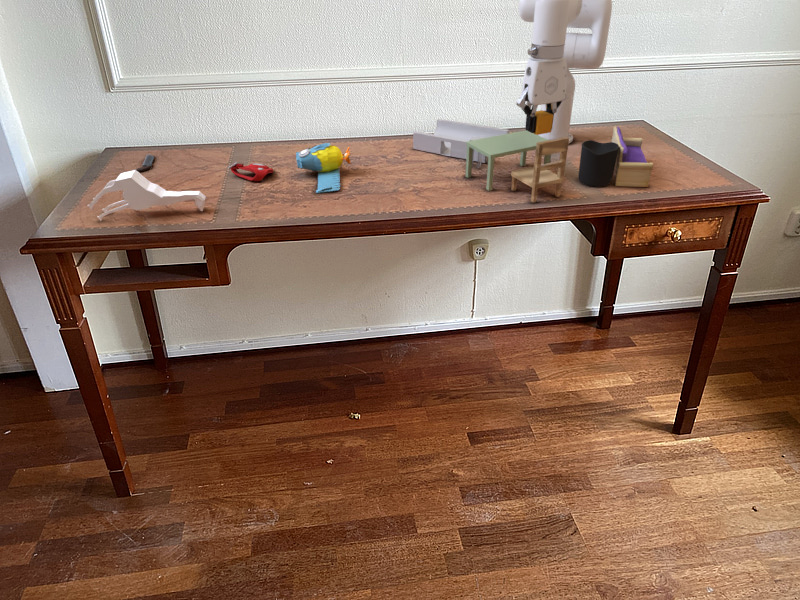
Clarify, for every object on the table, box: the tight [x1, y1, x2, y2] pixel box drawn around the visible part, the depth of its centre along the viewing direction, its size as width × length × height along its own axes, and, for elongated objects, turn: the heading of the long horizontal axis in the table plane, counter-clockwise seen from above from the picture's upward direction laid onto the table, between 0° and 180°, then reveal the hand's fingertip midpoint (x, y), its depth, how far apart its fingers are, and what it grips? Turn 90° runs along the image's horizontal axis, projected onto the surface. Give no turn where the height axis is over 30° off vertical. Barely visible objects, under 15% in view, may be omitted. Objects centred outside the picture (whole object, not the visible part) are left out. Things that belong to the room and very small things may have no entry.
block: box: [533, 109, 553, 135], centre depth 149 cm, size 4×4×4 cm
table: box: [465, 129, 552, 192], centre depth 165 cm, size 12×20×10 cm, turn 117°
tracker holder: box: [228, 161, 274, 182], centre depth 170 cm, size 12×4×10 cm
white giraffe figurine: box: [87, 169, 207, 222], centre depth 149 cm, size 5×16×25 cm
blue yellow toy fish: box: [295, 142, 352, 194], centre depth 170 cm, size 28×9×15 cm
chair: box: [510, 137, 570, 204], centre depth 154 cm, size 10×9×15 cm
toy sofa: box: [610, 126, 654, 188], centre depth 166 cm, size 21×9×10 cm, turn 169°
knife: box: [135, 153, 155, 173], centre depth 181 cm, size 14×4×1 cm, turn 11°
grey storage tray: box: [412, 118, 510, 169], centre depth 184 cm, size 25×21×8 cm
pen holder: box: [577, 139, 619, 188], centre depth 161 cm, size 9×9×10 cm
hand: (538, 129), depth 150 cm, fingers closed on block, 4 cm apart
